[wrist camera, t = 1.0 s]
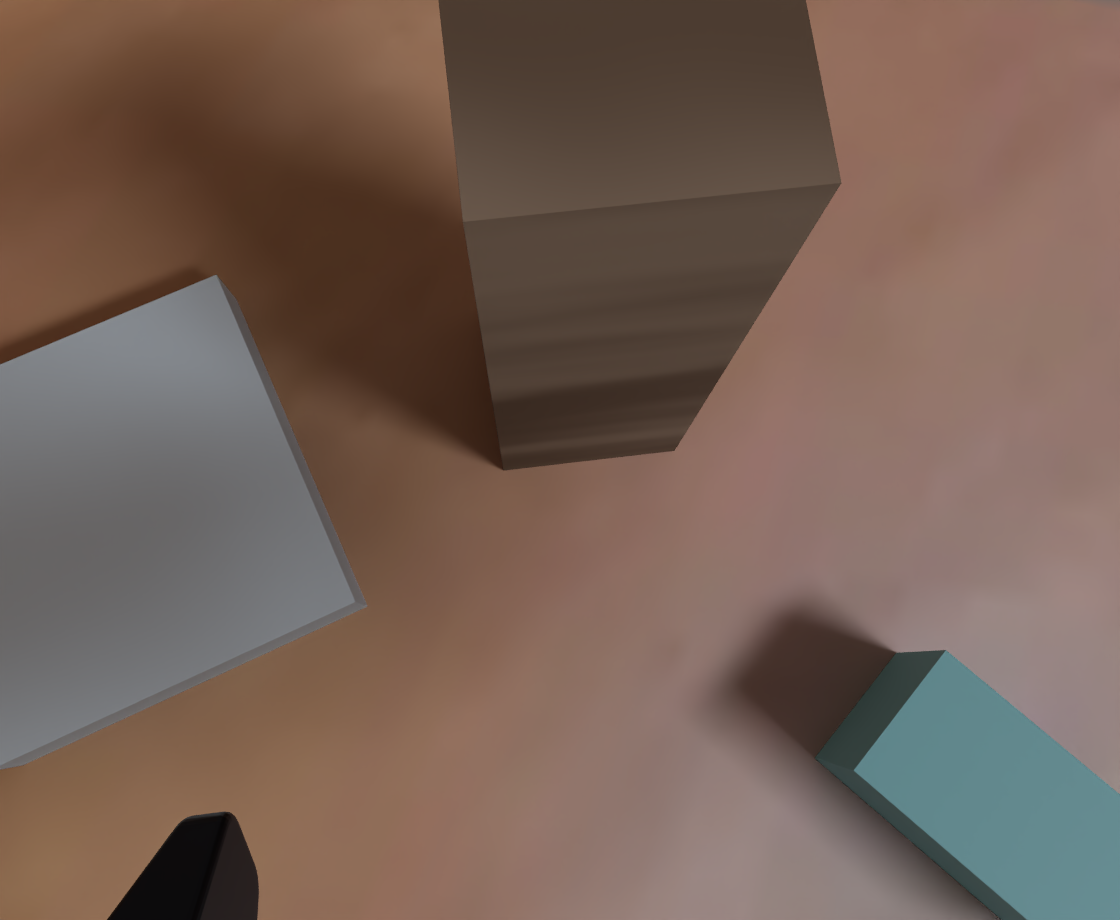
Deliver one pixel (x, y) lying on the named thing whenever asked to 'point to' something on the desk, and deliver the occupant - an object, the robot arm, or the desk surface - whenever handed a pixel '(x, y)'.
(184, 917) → the robot arm
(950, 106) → the desk surface
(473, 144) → the walnut block
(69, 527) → the grey slab
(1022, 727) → the teal brick
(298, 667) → the desk surface
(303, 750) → the desk surface
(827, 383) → the desk surface
